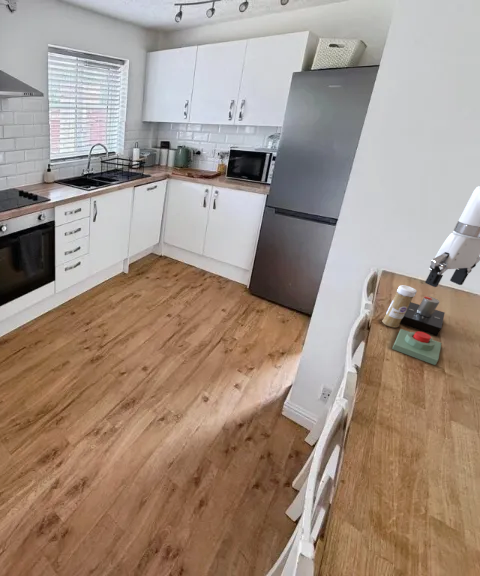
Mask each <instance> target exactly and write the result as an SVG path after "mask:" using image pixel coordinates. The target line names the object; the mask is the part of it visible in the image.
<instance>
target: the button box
mask: <svg viewBox="0 0 480 576" xmlns="http://www.w3.org/2000/svg"><path fill="white" fill-rule="evenodd" d="M415 332H416V331H408V330H406V329H402V328H400V329H399V332H398V333H397V336H396V339H395V341H394V343H393V345H392V350H394V351H397V352H399V353H402V354H405V355H407V356H410V357H413V358H415V359H417V360H420V361H423V362H424V363H425V362H426V363H428V364H431V365H434V366H436V365H437V363H438V361H439V358H440V352H441V349H442V342H440V341H437V340H434V339H433V338H431V339H430V340H429V342H428V343H423V342H420V341H417V340H416V339H414V338H413V336H414V334H415Z"/></svg>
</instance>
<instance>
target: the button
mask: <svg viewBox="0 0 480 576" xmlns="http://www.w3.org/2000/svg"><path fill="white" fill-rule="evenodd" d="M414 332H415V334H414V336H413V338H414V339H416V340H417V341H420V342H423V343H428V342H429V340H430V339H432V335H431V334H429V333H426V332H423V331H420V330H417V331H414Z"/></svg>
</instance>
